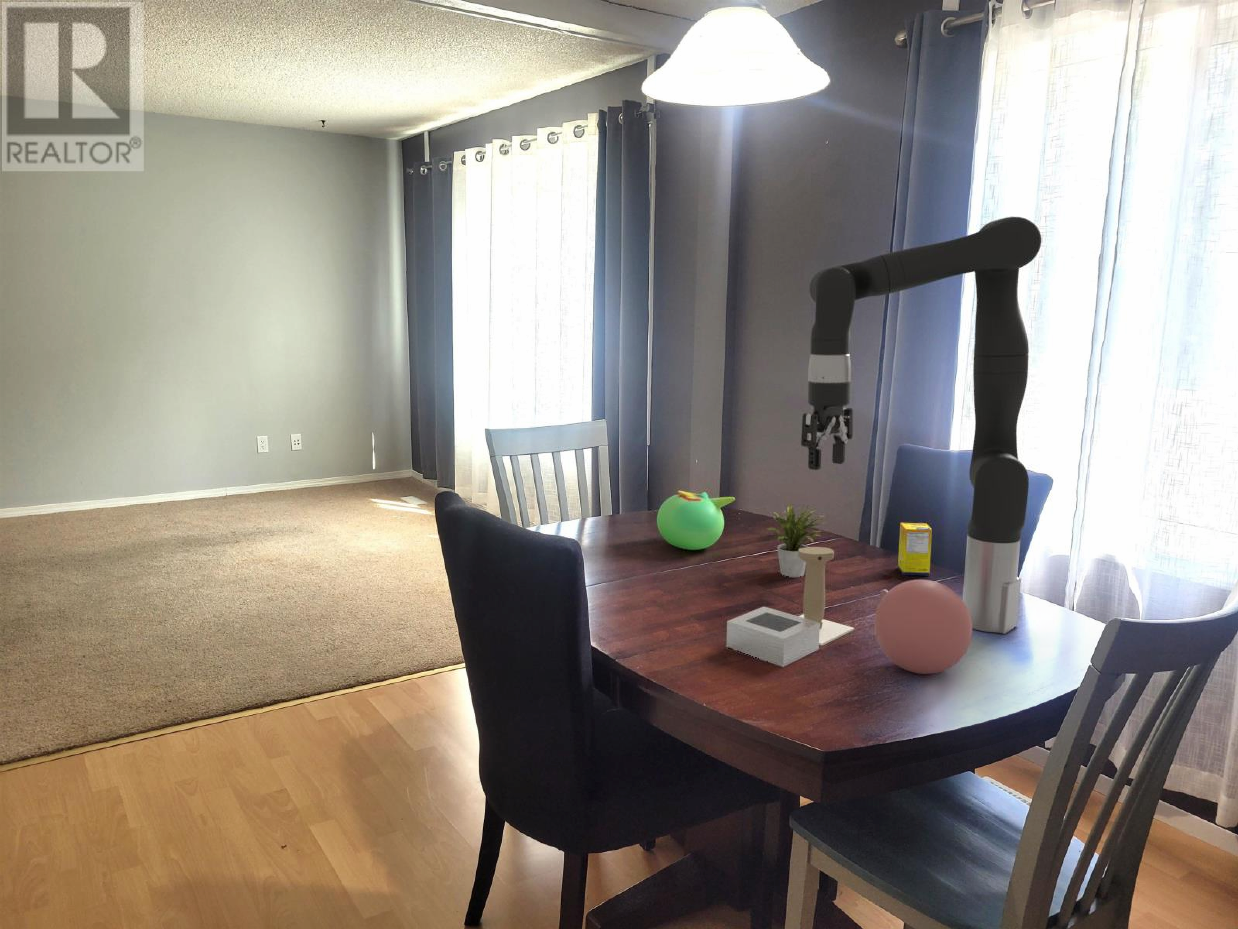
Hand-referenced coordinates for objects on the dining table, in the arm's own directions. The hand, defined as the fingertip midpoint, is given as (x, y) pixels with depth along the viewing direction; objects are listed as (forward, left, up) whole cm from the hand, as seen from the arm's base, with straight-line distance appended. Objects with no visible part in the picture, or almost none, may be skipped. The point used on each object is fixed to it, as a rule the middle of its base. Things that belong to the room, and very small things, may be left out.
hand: (826, 466), depth 167 cm
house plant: (+21, -21, -31) cm, 43 cm away
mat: (-1, +5, -31) cm, 31 cm away
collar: (-1, +18, -31) cm, 35 cm away
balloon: (-22, +7, -31) cm, 38 cm away
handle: (-1, +5, -30) cm, 31 cm away
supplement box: (+3, -43, -31) cm, 53 cm away
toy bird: (+52, -23, -31) cm, 65 cm away
